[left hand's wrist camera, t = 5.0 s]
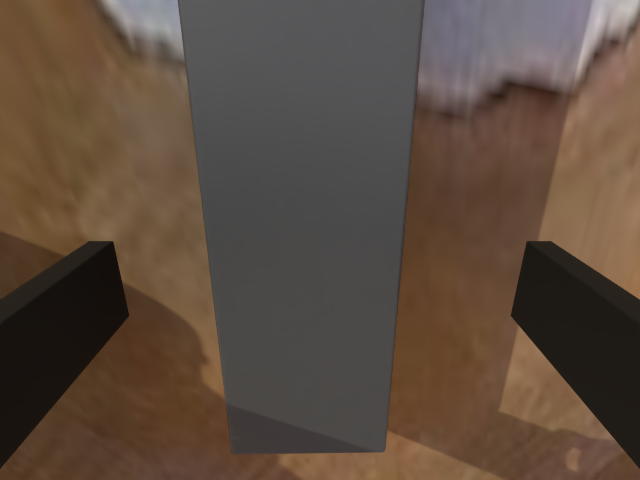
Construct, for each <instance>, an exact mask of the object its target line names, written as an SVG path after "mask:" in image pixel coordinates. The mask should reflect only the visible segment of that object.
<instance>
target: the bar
mask: <svg viewBox="0 0 640 480" xmlns="http://www.w3.org/2000/svg"><path fill="white" fill-rule="evenodd" d="M424 3H425V0H178V6H179V14H180V23H181V31H182V40H183V48H184V56H185V65H186V73H187V82H188V90H189V98H190V107H191V115H192V124H193V132H194V140H195V149H196V157H197V166H198V174H199V182H200V191H201V199H202V208H203V216H204V224H205V233H206V241H207V250H208V258H209V266H210V275H211V283H212V292H213V300H214V308H215V317H216V325H217V334H218V342H219V350H220V359H221V367H222V376H223V384H224V392H225V401H226V409H227V418H228V426H229V434H230V443H231V451H232V453H233V454H288V453H363V452H384V451H385V448H386V436H387V425H388V413H389V402H390V391H391V379H392V368H393V356H394V345H395V334H396V322H397V311H398V299H399V288H400V277H401V265H402V254H403V242H404V231H405V220H406V208H407V197H408V185H409V174H410V163H411V151H412V140H413V128H414V117H415V105H416V94H417V83H418V71H419V60H420V48H421V37H422V26H423V14H424Z"/></svg>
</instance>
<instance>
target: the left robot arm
mask: <svg viewBox="0 0 640 480" xmlns="http://www.w3.org/2000/svg"><path fill="white" fill-rule="evenodd" d="M128 317H129V313H128V308H127V303H126V299H125V294H124V289H123V285H122V280H121V276H120V271H119V266H118V262H117V257H116V252H115V248H114V243H113V241H89V242H87V243H86V244H84V245H83V246H81V247H80V248H78V249H77V250H75V251H74V252H72V253H71V254H69V255H67V256H66V257H64V258H63V259H61V260H60V261H58V262H57V263H55V264H54V265H52V266H51V267H49V268H48V269H46V270H45V271H43V272H42V273H40V274H39V275H37V276H36V277H34V278H33V279H31V280H29V281H28V282H26V283H25V284H23V285H22V286H20V287H19V288H17V289H16V290H14V291H13V292H11V293H10V294H8V295H7V296H5V297H4V298H2V299H1V300H0V468H1V467H2V466H3V465H4V464H5V463H6V461H7V460H8V459H9V458H10V457H11V455H12V454H13V453H14V452H15V451H16V449H17V448H18V447H19V446H20V445H21V444H22V442H23V441H24V440H25V439H26V438H27V436H28V435H29V434H30V433H31V432H32V430H33V429H34V428H35V427H36V426H37V425H38V423H39V422H40V421H41V420H42V419H43V417H44V416H45V415H46V414H47V413H48V411H49V410H50V409H51V408H52V407H53V406H54V404H55V403H56V402H57V401H58V400H59V398H60V397H61V396H62V395H63V394H64V393H65V391H66V390H67V389H68V388H69V387H70V385H71V384H72V383H73V382H74V381H75V379H76V378H77V377H78V376H79V375H80V374H81V372H82V371H83V370H84V369H85V368H86V366H87V365H88V364H89V363H90V362H91V360H92V359H93V358H94V357H95V356H96V355H97V353H98V352H99V351H100V350H101V349H102V347H103V346H104V345H105V344H106V343H107V341H108V340H109V339H110V338H111V337H112V336H113V334H114V333H115V332H116V331H117V330H118V328H119V327H120V326H121V325H122V324H123V323H124V321H125V320H126V319H127V318H128ZM511 317H512V318H513V319H514V320H515V321H516V323H517V324H518V325H519V326H520V327H521V328H522V330H523V331H524V332H525V333H526V334H527V336H528V337H529V338H530V339H531V340H532V341H533V343H534V344H535V345H536V346H537V347H538V349H539V350H540V351H541V352H542V353H543V355H544V356H545V357H546V358H547V359H548V360H549V362H550V363H551V364H552V365H553V366H554V368H555V369H556V370H557V371H558V372H559V374H560V375H561V376H562V377H563V378H564V379H565V381H566V382H567V383H568V384H569V385H570V387H571V388H572V389H573V390H574V391H575V393H576V394H577V395H578V396H579V397H580V398H581V400H582V401H583V402H584V403H585V404H586V406H587V407H588V408H589V409H590V410H591V411H592V413H593V414H594V415H595V416H596V417H597V419H598V420H599V421H600V422H601V423H602V425H603V426H604V427H605V428H606V429H607V430H608V432H609V433H610V434H611V435H612V436H613V438H614V439H615V440H616V441H617V442H618V444H619V445H620V446H621V447H622V448H623V449H624V451H625V452H626V453H627V454H628V455H629V457H630V458H631V459H632V460H633V461H634V463H635V464H636V465H637V466H638V467H639V468H640V300H639V299H638V298H636V297H635V296H633V295H632V294H630V293H629V292H627V291H626V290H624V289H623V288H621V287H620V286H618V285H617V284H615V283H614V282H612V281H611V280H609V279H607V278H606V277H604V276H603V275H601V274H600V273H598V272H597V271H595V270H594V269H592V268H591V267H589V266H588V265H586V264H585V263H583V262H582V261H580V260H579V259H577V258H576V257H574V256H573V255H571V254H569V253H568V252H566V251H565V250H563V249H562V248H560V247H559V246H557V245H556V244H554V243H553V242H551V241H527V243H526V248H525V252H524V257H523V262H522V266H521V271H520V276H519V280H518V285H517V289H516V294H515V299H514V303H513V308H512V313H511Z"/></svg>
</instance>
